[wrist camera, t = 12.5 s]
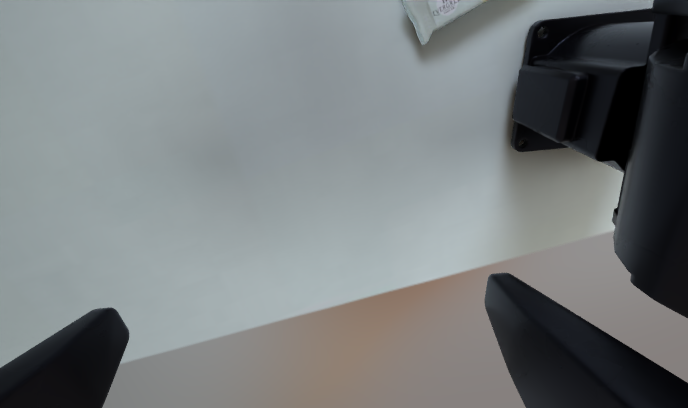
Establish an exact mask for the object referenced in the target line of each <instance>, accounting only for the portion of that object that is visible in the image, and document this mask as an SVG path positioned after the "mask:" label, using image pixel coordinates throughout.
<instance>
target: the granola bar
mask: <svg viewBox="0 0 688 408" xmlns="http://www.w3.org/2000/svg"><path fill="white" fill-rule="evenodd" d="M486 1H488V0H402V3H403V6H404V8H405V10H406V13H407V15H408V16H409V18H410V19H411V21H412V22H413V24H414V26H415V30H416V33H417V36H418V38H419V40H420V42H421V44H422V45H424V44H426V43H427V42H428V41H429V39H430V37H431V35H432V32H433V31H436V30H438V29H440V28H442V27H444V26H445V25H447V24H449V23H450V22H452V21H454V20H456V19H457V18H459V17H461V16H462V15H464V14H466V13H467V12H469V11H471V10H472V9H474V8H476V7H477V6H479V5H481V4H483V3H484V2H486Z"/></svg>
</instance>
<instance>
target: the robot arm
mask: <svg viewBox="0 0 688 408" xmlns="http://www.w3.org/2000/svg"><path fill="white" fill-rule="evenodd" d="M541 27H543V28H544V33H543V35H542V36H541V37H539V36H538V31H539V29H540V28H541ZM512 118H513V119H514V126H513V133H512V139H511V146H512V148H514V149H515V150H517V151H518V152H527V151H537V150H547V149H558V148H568V147H570V148H572V149H574V150H576V151H578V152H580V153H582V154H584V155H586V156H588V157H590V158H592V159H594V160H596V161H600V162H603V163H605V164H607V165H609V166H611V167H613V168H615V169H617V170H619V171H621V172H623V173H624V177H623V182H622V187H621V192H620V197H619V202H618V207H617V208H615V209H614V212H613V218H612V221H613V223H614V225H615V231H614V236H613V238H614V250H615V253H616V254H617V256H618V257H619V259H620V260H621V261H622V263H623V264H624V265H625V267H626V269H627V270H628V271H629V272H630V273H631V282H632V283H633V285H634V286H636V287H637V288H639V289H640V290H641V291H643V292H644V293H645V294H647V295H648V296H649V297H651V298H652V299H654V300H655V301H657V302H659V303H660V304H662V305H664V306H666V307H668V308H669V309H671V310H673V311H675V312H677V313H679V314H681V315H682V316H685V317H686V318H688V0H654V3H653V8H651V9H642V10H633V11H624V12H614V13H605V14H596V15H586V16H577V17H568V18H559V19H549V20H540V21H537V22H536V23H534V24H533V25H532V26H531V28H530V30H529V33H528V38H527V45H526V51H525V57H524V63H523V67H522V68H521V69H520V71H519V76H518V83H517V89H516V95H515V102H514V108H513V115H512ZM523 139H524V143H523V144H522V145H520V146H519V142H520V141H521V140H523ZM485 307H486V311H487V313H488V316H489V319H490V321H491V324H492V327H493V330H494V333H495V335H496V338H497V341H498V344H499V346H500V349H501V352H502V354H503V357H504V360H505V363H506V365H507V368H508V370H509V373H510V375H511V377H512V379H513V381H514V384H515V386H516V388H517V390H518V392H519V394H520V396H521V398H522V400H523V402H524V404H525V406H526V408H688V383H687V382H685V381H684V380H682V379H680V378H679V377H677V376H675V375H674V374H672V373H671V372H669V371H667V370H666V369H664V368H663V367H661V366H659V365H657V364H656V363H654V362H653V361H651V360H649V359H648V358H646V357H645V356H643V355H641V354H640V353H638V352H636V351H635V350H633V349H632V348H630V347H628V346H627V345H625V344H623V343H622V342H620V341H618V340H617V339H615V338H613V337H612V336H610V335H609V334H607V333H606V332H604V331H602V330H601V329H599V328H597V327H596V326H594V325H592V324H591V323H589V322H587V321H586V320H584V319H583V318H581V317H580V316H578V315H576V314H575V313H573V312H571V311H570V310H568V309H567V308H565V307H563V306H562V305H560V304H558V303H557V302H555V301H554V300H552V299H550V298H549V297H547V296H545V295H544V294H542V293H541V292H539V291H537V290H536V289H534V288H532V287H531V286H529V285H527V284H526V283H524V282H522V281H521V280H519V279H518V278H516V277H514V276H513V275H511V274H509V273H497V274H491V275H490V276H489V277H488V282H487V288H486V295H485ZM128 340H129V330H128V328H127V327H126V325H125V323H124V322H123V320H122V318H121V317H120V315H119V313H118V312H117V311H116V310H115V309H114V308H100V309H95V310H92V311H90V312H89V313H87V314H86V315H84V316H82V317H81V318H79V319H78V320H76V321H74V322H73V323H71V324H70V325H68V326H66V327H65V328H63V329H62V330H60V331H59V332H57V333H55V334H54V335H52V336H51V337H49V338H47V339H46V340H44V341H43V342H41V343H39V344H38V345H36V346H35V347H33V348H31V349H30V350H28V351H27V352H25V353H23V354H22V355H20V356H19V357H17V358H16V359H14V360H12V361H11V362H9V363H8V364H6V365H4V366H3V367H1V368H0V408H102V407H103V404H104V402H105V399H106V397H107V395H108V392H109V389H110V387H111V384H112V382H113V379H114V376H115V374H116V371H117V369H118V366H119V364H120V361H121V359H122V356H123V353H124V351H125V348H126V346H127V343H128Z"/></svg>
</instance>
